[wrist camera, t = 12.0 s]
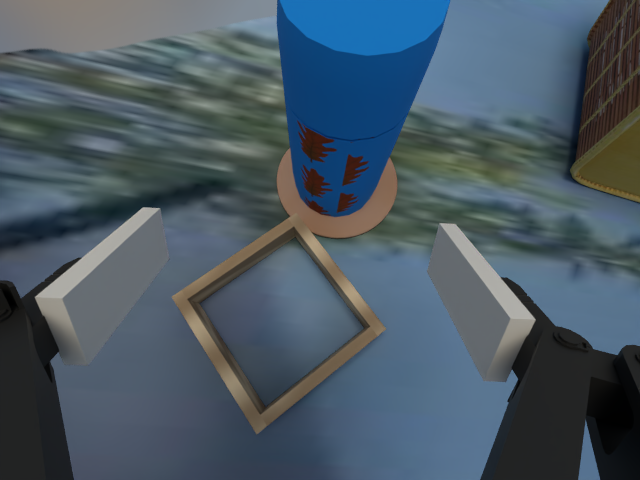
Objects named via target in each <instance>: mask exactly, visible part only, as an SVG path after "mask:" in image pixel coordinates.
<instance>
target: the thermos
mask: <svg viewBox="0 0 640 480" xmlns="http://www.w3.org/2000/svg"><path fill="white" fill-rule="evenodd" d="M449 3H450V0H277V29H278V39H279V48H280V57H281V67H282V76H283V85H284V95H285V104H286V113H287V123H288V132H289V141H290V151H291V160H292V169H293V175H294V180H295V184H296V188H297V190H298V193H299V196H300V198H301V199H302V200H303V201H304V203H305V204H306V205H307V206H308V207H309V208H310V209H312V210H314V211H316V212H317V213H319V214H321V215H326V216H331V217H340V216H346V215H350V214H352V213H354V212H356V211H358V210H360V209H361V208H362V207H363V206H364V205H365V204H366V203H367V201H368V200H369V199H370V198H371V196H372V194H373V192H374V191H375V189H376V187H377V185H378V183H379V180H380V178H381V176H382V173H383V171H384V169H385V166H386V164H387V162H388V159H389V157H390V155H391V152H392V150H393V147H394V145H395V143H396V140H397V138H398V136H399V133H400V131H401V129H402V126H403V124H404V122H405V119H406V117H407V115H408V112H409V110H410V108H411V105H412V103H413V101H414V98H415V96H416V94H417V91H418V89H419V87H420V84H421V82H422V80H423V77H424V75H425V73H426V70H427V68H428V66H429V63H430V61H431V58H432V56H433V54H434V51H435V49H436V46H437V43H438V40H439V37H440V34H441V31H442V28H443V25H444V21H445V18H446V14H447V11H448V7H449Z"/></svg>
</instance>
